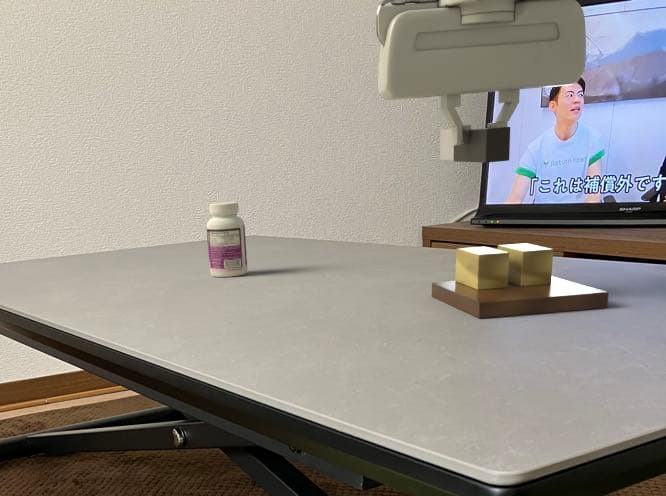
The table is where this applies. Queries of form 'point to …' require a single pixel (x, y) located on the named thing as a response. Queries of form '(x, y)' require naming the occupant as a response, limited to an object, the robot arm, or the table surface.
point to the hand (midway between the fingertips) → (479, 143)
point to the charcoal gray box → (477, 146)
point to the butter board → (513, 283)
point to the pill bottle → (226, 241)
